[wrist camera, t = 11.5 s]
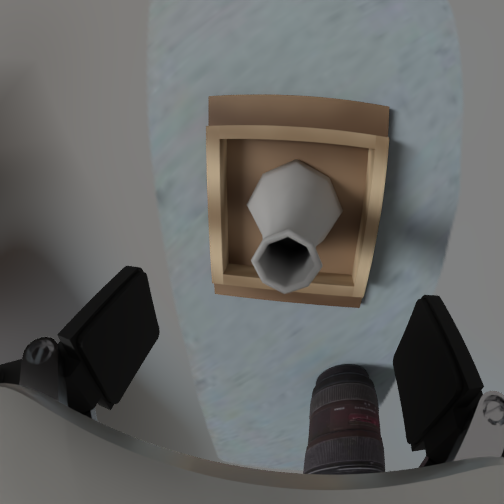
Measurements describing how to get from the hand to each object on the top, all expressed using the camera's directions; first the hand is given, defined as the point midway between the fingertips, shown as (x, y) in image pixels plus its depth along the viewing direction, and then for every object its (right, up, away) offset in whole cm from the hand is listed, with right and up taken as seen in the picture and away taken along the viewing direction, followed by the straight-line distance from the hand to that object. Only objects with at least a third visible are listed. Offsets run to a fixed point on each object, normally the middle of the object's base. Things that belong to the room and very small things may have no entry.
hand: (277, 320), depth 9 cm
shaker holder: (+3, +6, +14) cm, 15 cm away
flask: (+3, +6, +13) cm, 15 cm away
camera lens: (+10, -14, +22) cm, 28 cm away
